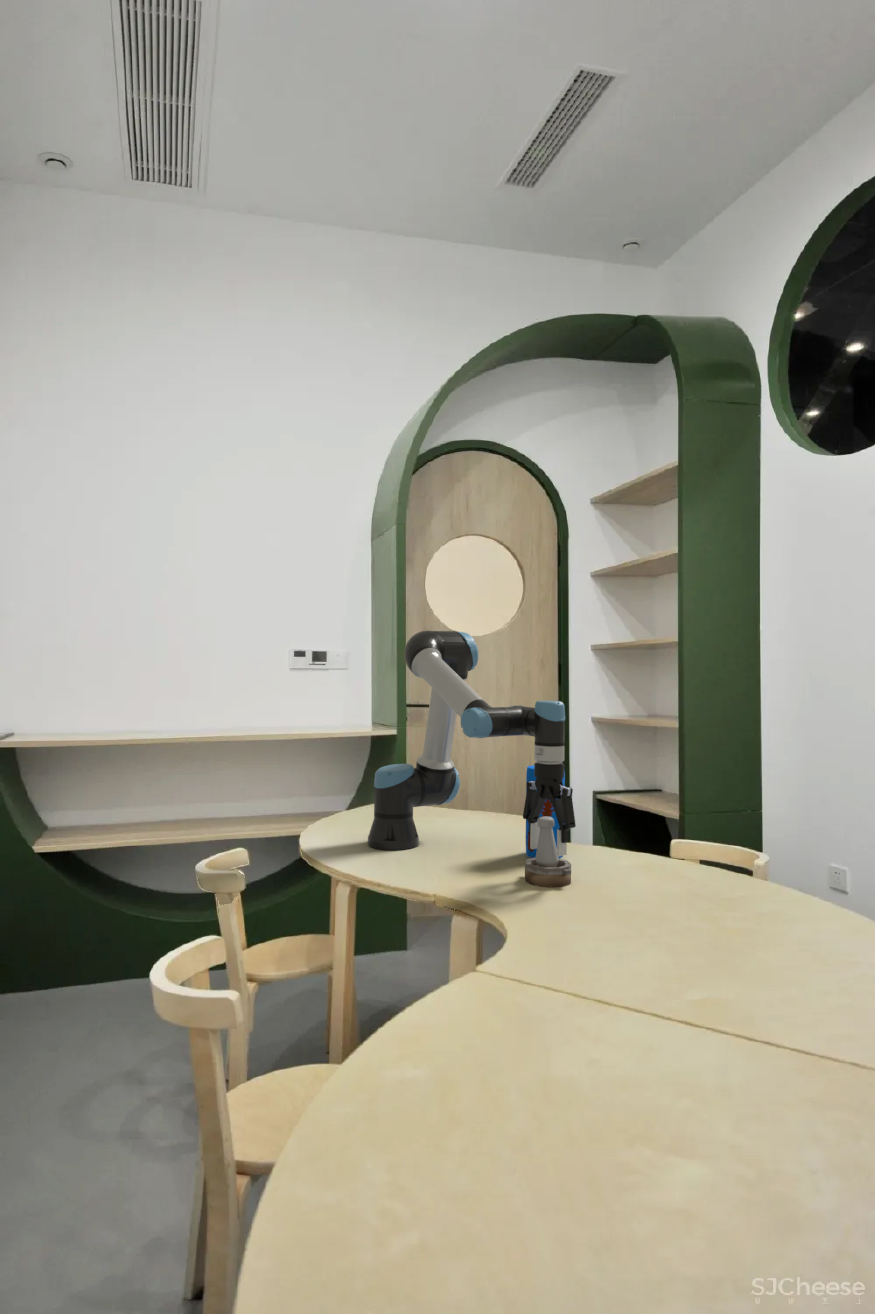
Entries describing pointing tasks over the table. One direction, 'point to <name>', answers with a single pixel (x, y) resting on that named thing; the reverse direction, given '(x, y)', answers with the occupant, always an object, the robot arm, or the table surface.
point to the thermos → (541, 814)
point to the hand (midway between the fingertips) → (548, 851)
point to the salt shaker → (546, 843)
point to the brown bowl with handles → (548, 874)
